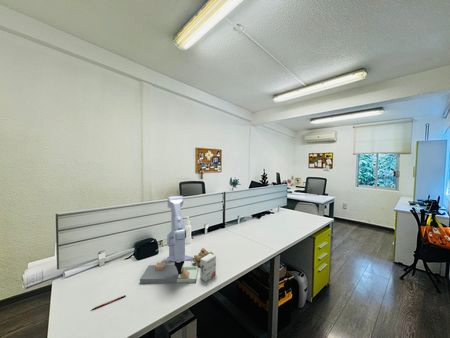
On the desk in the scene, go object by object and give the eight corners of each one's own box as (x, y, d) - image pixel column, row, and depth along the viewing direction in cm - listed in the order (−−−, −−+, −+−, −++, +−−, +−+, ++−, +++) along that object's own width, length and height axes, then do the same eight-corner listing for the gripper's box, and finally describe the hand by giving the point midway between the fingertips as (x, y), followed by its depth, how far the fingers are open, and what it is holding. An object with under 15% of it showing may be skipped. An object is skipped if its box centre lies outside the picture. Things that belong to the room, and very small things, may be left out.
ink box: (210, 271, 108) (210, 252, 108) (216, 274, 105) (216, 255, 105) (199, 278, 102) (199, 258, 101) (205, 282, 99) (205, 261, 98)
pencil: (90, 311, 79) (90, 308, 79) (125, 296, 88) (125, 294, 88) (90, 312, 78) (90, 310, 78) (125, 297, 87) (125, 295, 87)
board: (148, 269, 109) (148, 265, 109) (181, 268, 111) (181, 264, 110) (139, 283, 97) (139, 279, 96) (176, 282, 98) (176, 278, 98)
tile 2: (181, 270, 103) (183, 268, 103) (187, 275, 103) (189, 272, 103) (180, 275, 99) (182, 272, 99) (186, 280, 99) (188, 277, 99)
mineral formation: (203, 255, 127) (220, 260, 119) (190, 267, 115) (209, 274, 108) (201, 245, 126) (219, 249, 118) (188, 256, 114) (207, 262, 106)
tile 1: (157, 265, 109) (157, 262, 109) (165, 265, 109) (165, 262, 109) (155, 270, 104) (155, 267, 104) (163, 270, 105) (163, 266, 105)
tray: (181, 269, 110) (181, 266, 110) (198, 269, 110) (198, 266, 110) (176, 282, 98) (176, 279, 98) (195, 282, 98) (195, 278, 98)
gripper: (164, 253, 96) (164, 277, 97) (191, 253, 97) (191, 277, 97) (168, 247, 103) (168, 270, 104) (193, 247, 104) (193, 269, 104)
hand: (179, 273), depth 101 cm, fingers closed
